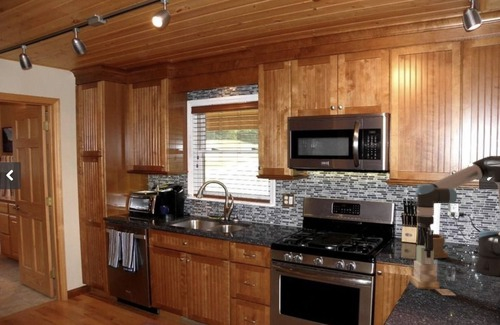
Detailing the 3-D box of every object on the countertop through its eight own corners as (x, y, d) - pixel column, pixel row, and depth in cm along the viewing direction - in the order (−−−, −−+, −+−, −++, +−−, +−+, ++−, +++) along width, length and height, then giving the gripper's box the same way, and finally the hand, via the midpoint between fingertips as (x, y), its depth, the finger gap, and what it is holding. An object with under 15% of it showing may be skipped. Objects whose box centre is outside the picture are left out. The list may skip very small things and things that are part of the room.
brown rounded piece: (429, 260, 238) (429, 236, 238) (421, 255, 250) (421, 232, 250) (453, 260, 237) (454, 236, 237) (444, 255, 249) (444, 232, 249)
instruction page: (447, 289, 184) (447, 288, 184) (456, 295, 176) (456, 294, 176) (435, 289, 184) (435, 288, 184) (442, 295, 176) (442, 294, 176)
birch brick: (429, 276, 194) (430, 260, 194) (436, 281, 186) (437, 265, 186) (413, 276, 194) (413, 260, 194) (420, 281, 186) (420, 264, 186)
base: (430, 281, 195) (430, 276, 195) (440, 288, 184) (440, 282, 184) (409, 281, 196) (409, 275, 196) (417, 288, 185) (417, 282, 185)
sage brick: (428, 261, 193) (428, 245, 193) (433, 264, 187) (433, 248, 187) (416, 261, 193) (416, 245, 193) (421, 264, 187) (421, 248, 187)
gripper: (410, 212, 199) (410, 257, 200) (425, 218, 180) (425, 267, 181) (425, 213, 199) (424, 257, 199) (441, 218, 180) (441, 267, 180)
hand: (424, 262), depth 190 cm, fingers closed on sage brick, 6 cm apart
